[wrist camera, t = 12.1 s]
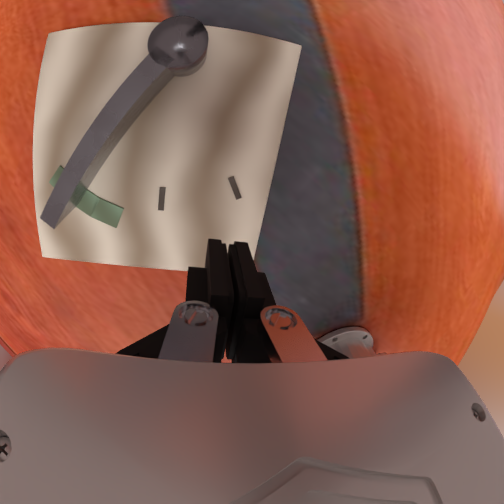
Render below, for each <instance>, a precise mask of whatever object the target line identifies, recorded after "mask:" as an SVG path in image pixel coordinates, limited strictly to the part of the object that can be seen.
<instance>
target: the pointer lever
mask: <svg viewBox="0 0 504 504" xmlns="http://www.w3.org/2000/svg"><path fill="white" fill-rule="evenodd" d="M208 39H209V38H208V32H207V30H206V28H205V26H204V25H203V24H202V23H201V22H200V21H198V20H197V19H195V18H192V17H188V16H175V17H171V18H168V19H166V20H164V21H162V22H161V23H159V24H158V25H157V26H156V27H155V28H154V29H153V30H152V32H151V34H150V36H149V38H148V44H147V47H148V52H149V54H148V55H147V56H146V57H145V58H144V60H143V61H142V62H141V63H140V64H139V65H138V66H137V67H136V68H135V69H134V71H133V72H132V73H131V74H130V75H129V76H128V77H127V79H126V80H125V81H124V82H123V83H122V85H121V86H120V87H119V88H118V89H117V91H116V92H115V93H114V94H113V96H112V97H111V98H110V100H109V101H108V102H107V103H106V105H105V106H104V108H103V109H102V110H101V112H100V113H99V114H98V116H97V117H96V119H95V120H94V121H93V123H92V124H91V126H90V127H89V129H88V130H87V132H86V133H85V135H84V136H83V138H82V139H81V141H80V143H79V144H78V146H77V147H76V149H75V151H74V152H73V154H72V156H71V157H70V159H69V161H68V163H67V164H66V166H65V168H64V170H63V171H62V173H61V175H60V177H59V179H58V181H57V183H56V185H55V187H54V189H53V191H52V193H51V195H50V197H49V199H48V201H47V203H46V205H45V207H44V210H43V212H42V214H41V216H40V219H42V220H43V221H44V222H45V223H47V224H48V225H49V226H50V227H52V228H53V229H55V228H56V227H57V226H58V225H59V224H60V223H61V222H62V221H63V219H64V218H65V217H66V216H67V215H68V214H69V213H70V212H71V211H72V210H73V209H74V208H75V207H76V206H77V205H78V204H79V202H80V201H81V199H82V197H83V196H84V194H85V192H86V190H87V189H88V187H89V186H90V184H91V182H92V181H93V179H94V178H95V176H96V174H97V173H98V171H99V170H100V168H101V167H102V165H103V164H104V162H105V161H106V159H107V158H108V157H109V155H110V154H111V152H112V151H113V149H114V148H115V147H116V145H117V144H118V143H119V141H120V140H121V138H122V137H123V136H124V134H125V133H126V132H127V131H128V129H129V128H130V127H131V125H132V124H133V123H134V122H135V120H136V119H137V118H138V117H139V115H140V114H141V113H142V112H143V111H144V109H145V108H146V107H147V106H148V105H149V104H150V102H151V101H152V100H153V99H154V98H155V97H156V96H157V94H158V93H159V92H160V91H161V90H162V89H163V88H164V87H165V86H166V85H167V84H168V83H169V81H170V80H171V79H172V78H173V77H174V76H177V77H184V76H189V75H191V74H193V73H195V72H197V71H198V70H199V69H200V68H201V67H202V66H203V64H204V63H205V60H206V57H207V48H208Z"/></svg>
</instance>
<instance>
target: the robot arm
mask: <svg viewBox="0 0 504 504" xmlns="http://www.w3.org/2000/svg"><path fill="white" fill-rule="evenodd" d="M372 347H373V338H372V336H371V334H370V333H369V331H367V330H366V329H364V328H361V327H346V328H342V329H339V330H336V331H333V332H331V333H329V334H326V335H325V336H323V337H321V338H320V339H318V340H316V339H314V338H313V337H312V335H311V334H310V332H309V331H308V329H307V327H306V326H305V324H304V323H303V321H302V320H301V318H300V317H299V316H298V314H297V313H296V312H294V311H293V310H291V309H289V308H287V307H283V306H276V303H275V300H274V297H273V295H272V292H271V289H270V286H269V283H268V281H267V278H266V275H265V273H261V272H257V270H256V267H255V264H254V261H253V258H252V255H251V252H250V248H249V245H248V243H247V242H239V241H234V244H229V247H228V253H227V247H226V243H222V241H221V240H219V239H208V244H207V252H206V260H205V268H201V267H190V266H188V276H187V290H186V302H183V303H181V304H179V305H178V306H177V307H176V308H175V310H174V312H173V315H172V318H171V321H170V324H168V325H167V326H165V327H163V328H161V329H159V330H157V331H155V332H154V333H152V334H150V335H148V336H146V337H144V338H143V339H141V340H139V341H137V342H135V343H133V344H131V345H129V346H128V347H126V348H124V349H122V350H120V351H119V352H117V353H116V354H113V353H105V352H97V351H90V350H83V349H73V348H42V349H34V350H29V351H25V352H22V353H19V354H18V355H16V356H14V357H13V358H12V359H11V360H9V361H8V362H7V363H6V365H5V366H4V367H3V368H2V370H1V371H0V504H504V439H503V436H502V434H501V432H500V430H499V429H498V427H497V425H496V423H495V421H494V420H493V418H492V416H491V414H490V413H489V411H488V409H487V408H486V406H485V404H484V403H483V401H482V400H481V398H480V396H479V395H478V393H477V392H476V390H475V389H474V387H473V386H472V385H471V383H470V382H469V381H468V379H467V378H466V376H465V375H464V374H463V373H462V371H461V370H460V369H459V368H458V367H457V366H456V364H455V363H454V362H453V361H452V360H451V359H449V358H448V357H445V356H443V355H440V354H436V353H432V352H423V351H413V352H401V353H392V354H386V353H379V354H376V353H375V352H374V350H373V349H372ZM225 349H226V357H227V359H232V363H221V359H223V357H224V352H225Z"/></svg>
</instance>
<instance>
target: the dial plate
mask: <svg viewBox="0 0 504 504" xmlns="http://www.w3.org/2000/svg"><path fill="white" fill-rule="evenodd" d="M158 24H159V22H138V23H116V24H104V25H94V26H86V27H79V28H73V29H67V30H62V31H57V32H52V33H49V35H48V38H47V42H46V46H45V51H44V55H43V60H42V65H41V70H40V76H39V82H38V89H37V96H36V105H35V116H34V131H33V181H34V197H35V208H36V217H37V225H38V232H39V239H40V245H41V251H42V256H43V257H48V258H57V259H66V260H75V261H84V262H94V263H103V264H113V265H124V266H135V267H146V268H157V269H169V270H181V271H188V266H190V267H201V268H205V260H206V252H207V244H208V239H219V240H221V241H222V243H226V247H227V253H228V247H229V244H234V241H239V242H247V243H248V245H249V248H250V252H251V255H252V258H253V260H254V256H255V251H256V247H257V243H258V238H259V234H260V229H261V225H262V221H263V216H264V212H265V208H266V203H267V199H268V194H269V190H270V185H271V181H272V177H273V172H274V168H275V163H276V159H277V155H278V150H279V146H280V141H281V137H282V132H283V128H284V123H285V119H286V115H287V110H288V106H289V101H290V97H291V92H292V88H293V83H294V79H295V74H296V70H297V65H298V61H299V56H300V52H301V47H302V46H301V45H297V44H294V43H290V42H287V41H283V40H279V39H276V38H272V37H267V36H263V35H259V34H254V33H249V32H244V31H239V30H233V29H227V28H220V27H213V26H205V28H206V30H207V32H208V38H209V39H208V48H207V57H206V60H205V63H204V64H203V66H202V67H201V68H200V69H199V70H198V71H197V72H195V73H193V74H191V75H189V76H184V77H177V76H174V77H173V78H172V79H171V80H170V81H169V83H168V84H167V85H166V86H165V87H164V88H163V89H162V90H161V91H160V92H159V93H158V94H157V96H156V97H155V98H154V99H153V100H152V101H151V102H150V104H149V105H148V106H147V107H146V108H145V109H144V111H143V112H142V113H141V114H140V115H139V117H138V118H137V119H136V120H135V122H134V123H133V124H132V125H131V127H130V128H129V129H128V131H127V132H126V133H125V134H124V136H123V137H122V138H121V140H120V141H119V143H118V144H117V145H116V147H115V148H114V149H113V151H112V152H111V154H110V155H109V157H108V158H107V159H106V161H105V162H104V164H103V165H102V167H101V168H100V170H99V171H98V173H97V174H96V176H95V178H94V179H93V181H92V182H91V184H90V186H89V187H88V189H87V190H86V192H85V194H84V196H83V197H82V199H81V201H80V202H79V204H78V205H77V206H76V207H75V208H74V209H73V210H72V211H71V212H70V213H69V214H68V215H67V216H66V217H65V218H64V219H63V221H62V222H61V223H60V224H59V225H58V226H57V227H56V228H55V229H53V228H52V227H50V226H49V225H48V224H47V223H45V222H44V221H43V220H42V219H40V216H41V214H42V212H43V210H44V207H45V205H46V203H47V201H48V199H49V197H50V195H51V193H52V191H53V189H54V187H55V185H56V183H57V181H58V179H59V177H60V175H61V173H62V171H63V170H64V168H65V166H66V164H67V163H68V161H69V159H70V157H71V156H72V154H73V152H74V151H75V149H76V147H77V146H78V144H79V143H80V141H81V139H82V138H83V136H84V135H85V133H86V132H87V130H88V129H89V127H90V126H91V124H92V123H93V121H94V120H95V119H96V117H97V116H98V114H99V113H100V112H101V110H102V109H103V108H104V106H105V105H106V103H107V102H108V101H109V100H110V98H111V97H112V96H113V94H114V93H115V92H116V91H117V89H118V88H119V87H120V86H121V85H122V83H123V82H124V81H125V80H126V79H127V77H128V76H129V75H130V74H131V73H132V72H133V71H134V69H135V68H136V67H137V66H138V65H139V64H140V63H141V62H142V61H143V60H144V58H145V57H146V56H147V55H148V54H149V52H148V47H147V44H148V38H149V36H150V34H151V32H152V30H153V29H154V28H155V27H156V26H157V25H158Z"/></svg>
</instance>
